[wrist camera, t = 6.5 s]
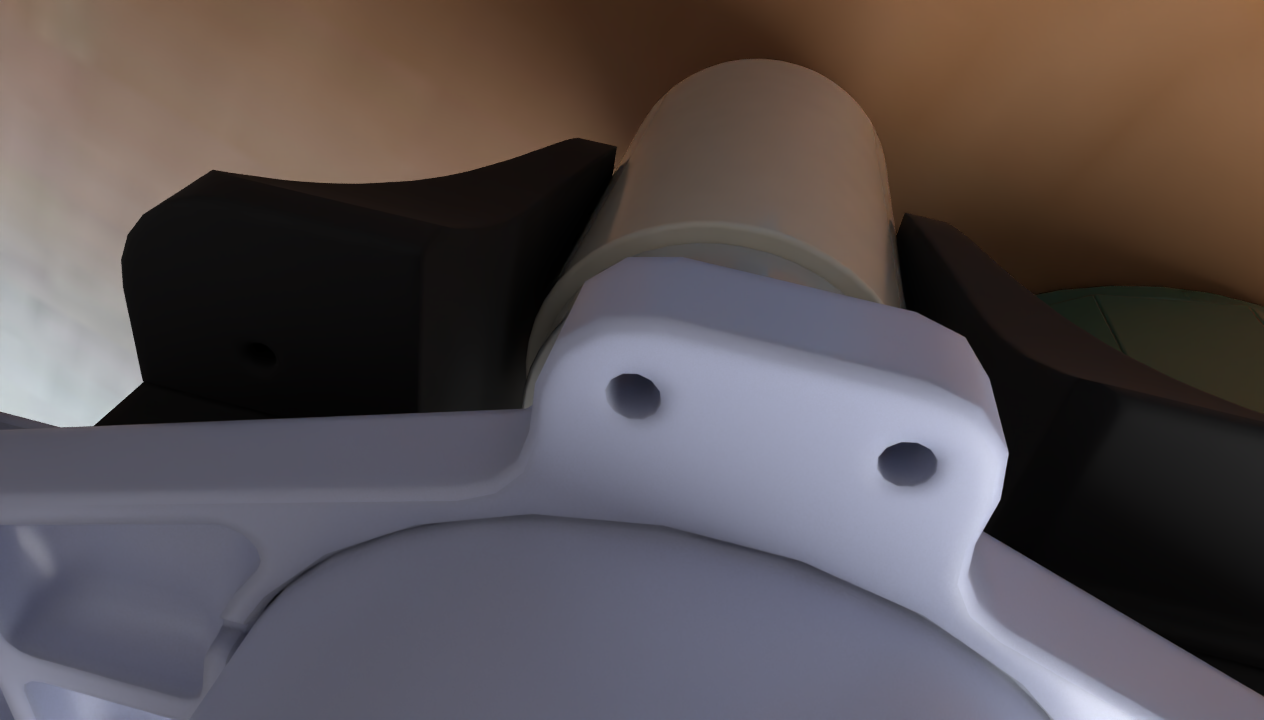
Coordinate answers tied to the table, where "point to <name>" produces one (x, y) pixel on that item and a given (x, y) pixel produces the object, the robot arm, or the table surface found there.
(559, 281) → the salt shaker
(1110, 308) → the pot
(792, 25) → the table surface
